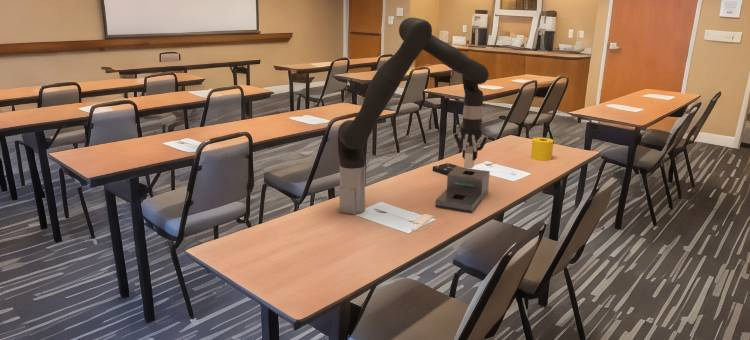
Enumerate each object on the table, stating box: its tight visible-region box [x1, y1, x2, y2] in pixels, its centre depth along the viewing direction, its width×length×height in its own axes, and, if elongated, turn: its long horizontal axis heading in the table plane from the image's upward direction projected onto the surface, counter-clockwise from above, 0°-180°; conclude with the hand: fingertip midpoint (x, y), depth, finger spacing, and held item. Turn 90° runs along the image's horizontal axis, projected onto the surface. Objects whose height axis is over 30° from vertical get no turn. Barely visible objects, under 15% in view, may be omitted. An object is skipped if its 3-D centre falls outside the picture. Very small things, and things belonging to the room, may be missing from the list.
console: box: [435, 166, 491, 214], centre depth 214 cm, size 26×14×9 cm, turn 156°
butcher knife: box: [410, 213, 434, 232], centre depth 192 cm, size 5×15×1 cm, turn 150°
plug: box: [463, 145, 475, 169], centre depth 216 cm, size 4×3×8 cm
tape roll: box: [530, 137, 554, 162], centre depth 273 cm, size 10×10×9 cm
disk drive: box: [432, 162, 464, 176], centre depth 249 cm, size 10×3×15 cm
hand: (469, 159), depth 217 cm, fingers closed on plug, 3 cm apart
